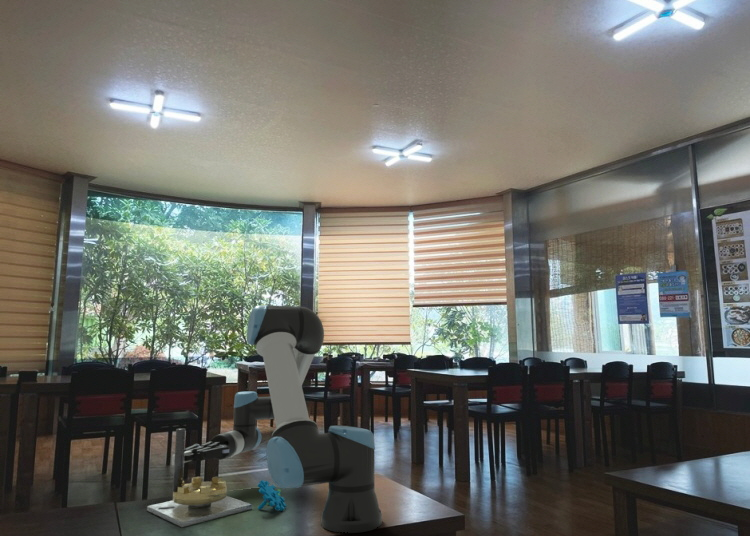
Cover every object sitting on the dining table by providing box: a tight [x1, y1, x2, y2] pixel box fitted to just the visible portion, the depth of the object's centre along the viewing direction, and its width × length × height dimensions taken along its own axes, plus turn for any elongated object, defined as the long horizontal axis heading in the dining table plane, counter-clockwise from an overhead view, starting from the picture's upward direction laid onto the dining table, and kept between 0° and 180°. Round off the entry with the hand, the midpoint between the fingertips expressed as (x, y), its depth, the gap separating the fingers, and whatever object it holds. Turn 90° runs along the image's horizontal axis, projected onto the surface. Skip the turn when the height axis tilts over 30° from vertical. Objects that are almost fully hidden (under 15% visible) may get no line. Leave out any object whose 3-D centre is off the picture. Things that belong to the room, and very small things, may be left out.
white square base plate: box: [146, 495, 253, 528], centre depth 138 cm, size 20×20×3 cm
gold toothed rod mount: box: [172, 428, 228, 505], centre depth 140 cm, size 14×14×18 cm
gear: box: [257, 479, 287, 512], centre depth 139 cm, size 11×6×10 cm
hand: (173, 460), depth 138 cm, fingers closed
